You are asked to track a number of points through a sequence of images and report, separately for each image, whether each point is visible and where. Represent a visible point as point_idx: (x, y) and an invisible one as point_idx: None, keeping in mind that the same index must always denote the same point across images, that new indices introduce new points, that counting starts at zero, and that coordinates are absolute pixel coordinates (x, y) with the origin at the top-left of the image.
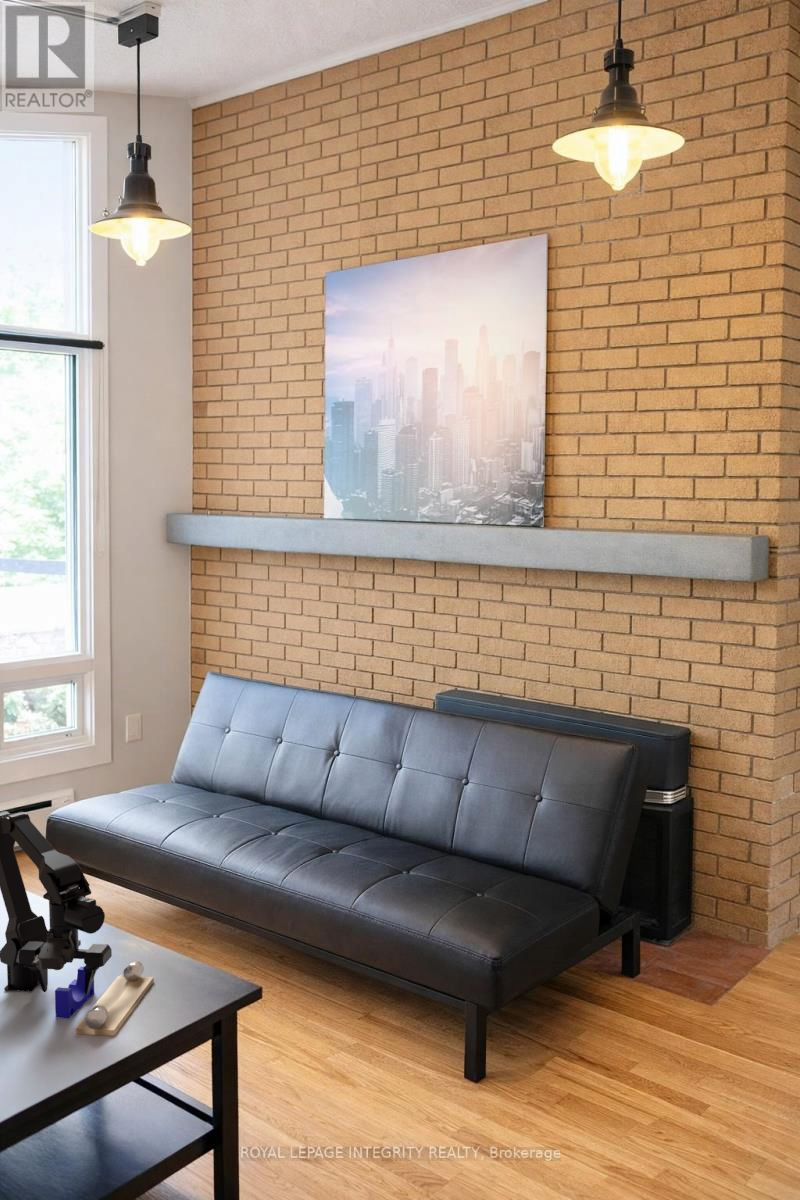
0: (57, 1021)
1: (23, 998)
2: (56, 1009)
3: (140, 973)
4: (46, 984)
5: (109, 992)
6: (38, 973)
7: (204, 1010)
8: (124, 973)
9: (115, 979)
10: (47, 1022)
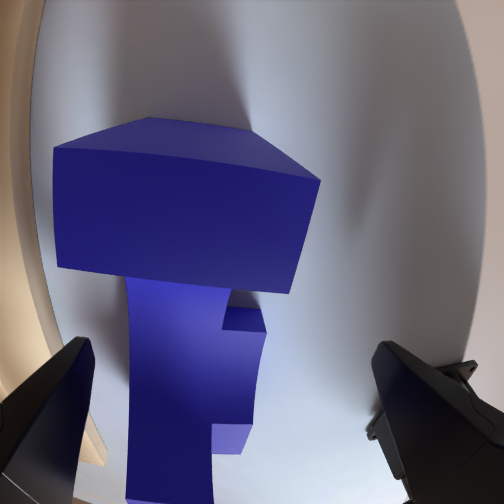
0: (220, 68)
1: (435, 331)
2: (252, 136)
3: None
4: (388, 388)
5: None
6: (488, 423)
7: None
8: None
9: (96, 451)
10: (289, 57)
